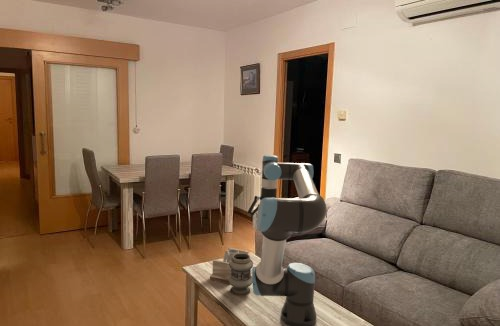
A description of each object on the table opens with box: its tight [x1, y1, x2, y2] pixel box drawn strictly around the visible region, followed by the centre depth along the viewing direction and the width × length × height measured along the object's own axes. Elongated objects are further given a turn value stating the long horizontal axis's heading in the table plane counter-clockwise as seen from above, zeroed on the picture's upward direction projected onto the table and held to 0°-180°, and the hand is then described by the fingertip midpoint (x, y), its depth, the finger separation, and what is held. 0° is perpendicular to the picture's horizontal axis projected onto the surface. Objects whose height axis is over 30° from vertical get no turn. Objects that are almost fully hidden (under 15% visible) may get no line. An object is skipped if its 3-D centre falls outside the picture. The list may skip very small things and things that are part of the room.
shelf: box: [209, 247, 249, 285], centre depth 195 cm, size 26×12×10 cm, turn 159°
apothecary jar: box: [229, 253, 254, 297], centre depth 174 cm, size 12×12×18 cm
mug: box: [222, 248, 239, 263], centre depth 194 cm, size 8×12×12 cm, turn 142°
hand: (267, 229), depth 174 cm, fingers open, 13 cm apart
